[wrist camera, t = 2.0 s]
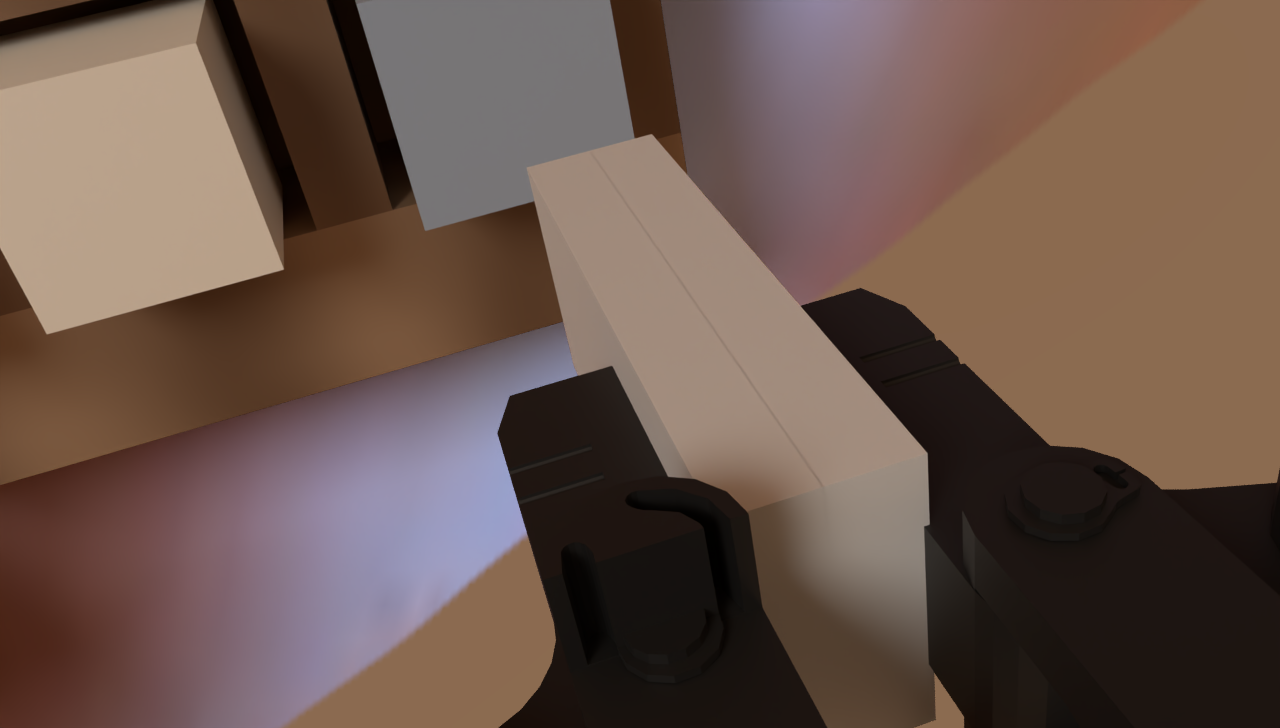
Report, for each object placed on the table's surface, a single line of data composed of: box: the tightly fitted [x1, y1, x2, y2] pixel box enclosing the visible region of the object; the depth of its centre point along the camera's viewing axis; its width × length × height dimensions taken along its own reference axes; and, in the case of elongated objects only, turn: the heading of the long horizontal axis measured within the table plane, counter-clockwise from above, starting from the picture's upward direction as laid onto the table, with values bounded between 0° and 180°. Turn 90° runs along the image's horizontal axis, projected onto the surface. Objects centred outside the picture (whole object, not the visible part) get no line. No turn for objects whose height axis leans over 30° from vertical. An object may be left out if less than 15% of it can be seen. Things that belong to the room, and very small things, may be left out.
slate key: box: [355, 0, 635, 231], centre depth 20 cm, size 4×4×4 cm
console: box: [0, 0, 687, 485], centre depth 22 cm, size 20×12×5 cm, turn 100°
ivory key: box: [0, 0, 284, 334], centre depth 20 cm, size 4×4×4 cm
